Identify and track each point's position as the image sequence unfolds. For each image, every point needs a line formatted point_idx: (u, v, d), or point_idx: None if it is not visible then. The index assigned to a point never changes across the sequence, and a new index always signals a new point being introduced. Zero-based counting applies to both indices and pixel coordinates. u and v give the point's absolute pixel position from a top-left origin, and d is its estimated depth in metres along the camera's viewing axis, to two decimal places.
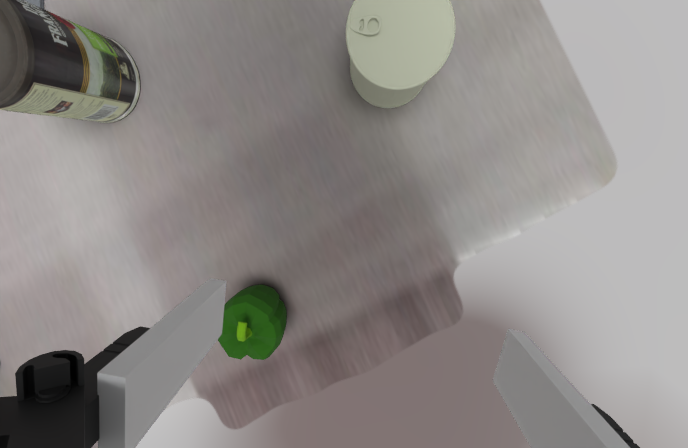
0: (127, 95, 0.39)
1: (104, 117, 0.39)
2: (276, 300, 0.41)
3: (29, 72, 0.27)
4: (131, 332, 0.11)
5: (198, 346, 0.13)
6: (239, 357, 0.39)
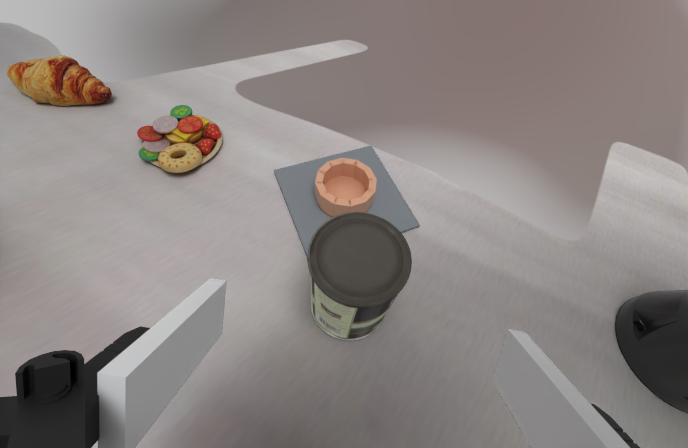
0: (354, 336, 0.40)
1: (325, 325, 0.40)
2: None
3: (367, 306, 0.30)
4: (131, 332, 0.11)
5: (198, 346, 0.13)
6: None
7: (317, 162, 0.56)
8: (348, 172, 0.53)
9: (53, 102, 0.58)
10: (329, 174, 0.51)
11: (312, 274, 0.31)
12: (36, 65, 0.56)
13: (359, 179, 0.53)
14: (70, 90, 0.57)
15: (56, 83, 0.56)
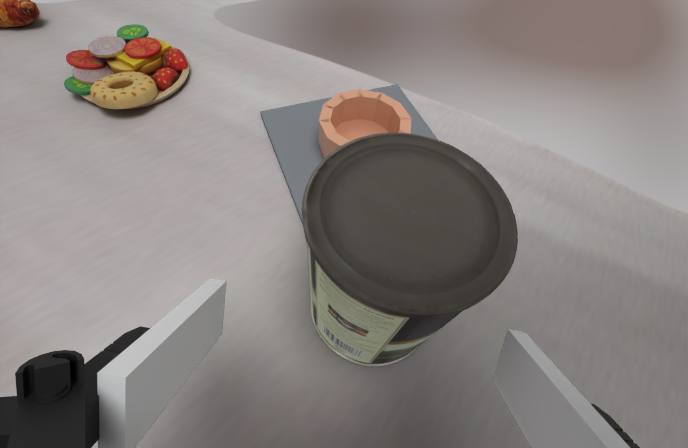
0: (384, 360, 0.23)
1: (333, 342, 0.23)
2: None
3: (435, 315, 0.13)
4: (131, 333, 0.11)
5: (198, 346, 0.13)
6: None
7: (322, 103, 0.39)
8: (367, 112, 0.36)
9: None
10: (340, 113, 0.35)
11: (312, 243, 0.14)
12: None
13: (383, 123, 0.36)
14: None
15: None
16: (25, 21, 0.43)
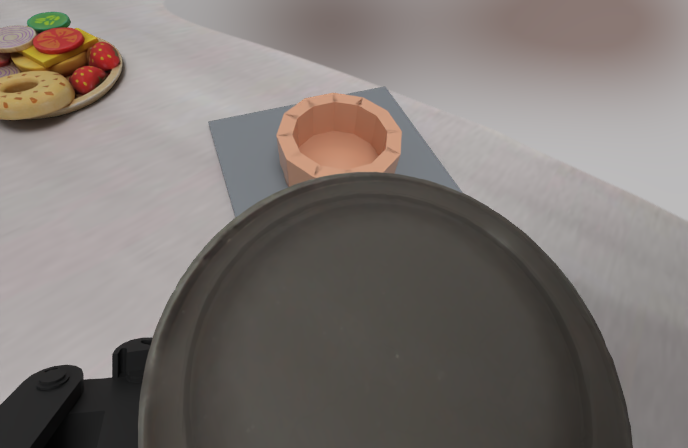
0: None
1: None
2: None
3: None
4: None
5: None
6: None
7: None
8: (345, 123, 0.28)
9: None
10: (308, 125, 0.27)
11: None
12: None
13: (366, 136, 0.28)
14: None
15: None
16: None
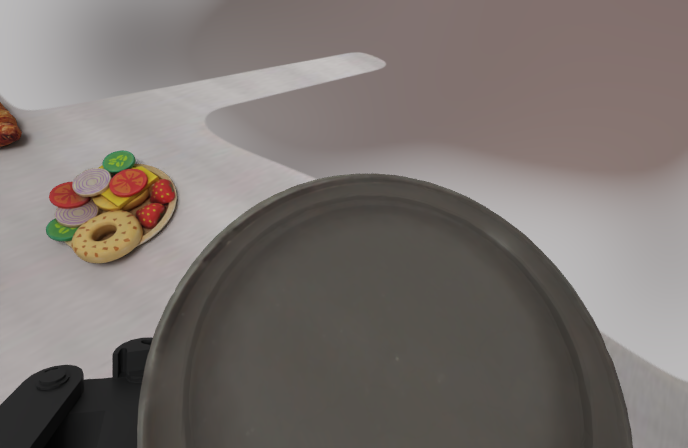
0: None
1: None
2: None
3: None
4: None
5: None
6: None
7: None
8: None
9: None
10: None
11: None
12: None
13: None
14: None
15: None
16: (6, 143, 0.42)
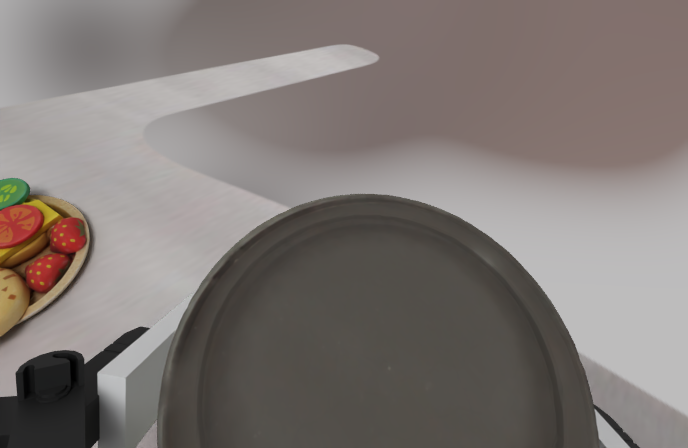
0: None
1: None
2: None
3: None
4: (131, 332, 0.11)
5: None
6: None
7: None
8: None
9: None
10: None
11: None
12: None
13: None
14: None
15: None
16: None
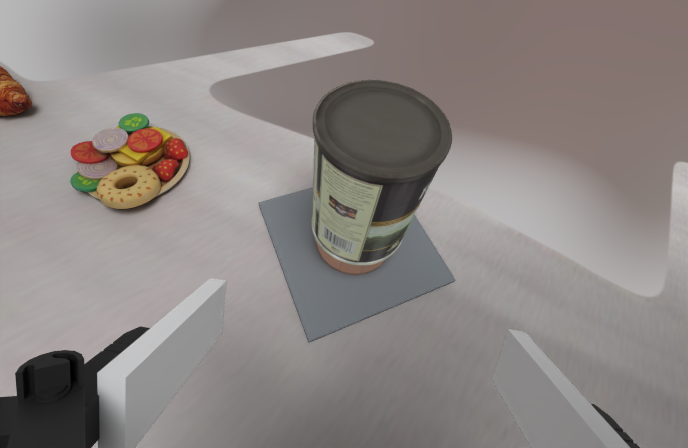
0: (368, 256, 0.32)
1: (331, 243, 0.31)
2: None
3: (397, 180, 0.21)
4: (131, 333, 0.11)
5: (198, 346, 0.13)
6: None
7: None
8: None
9: None
10: None
11: (320, 141, 0.22)
12: None
13: None
14: None
15: None
16: (17, 112, 0.44)
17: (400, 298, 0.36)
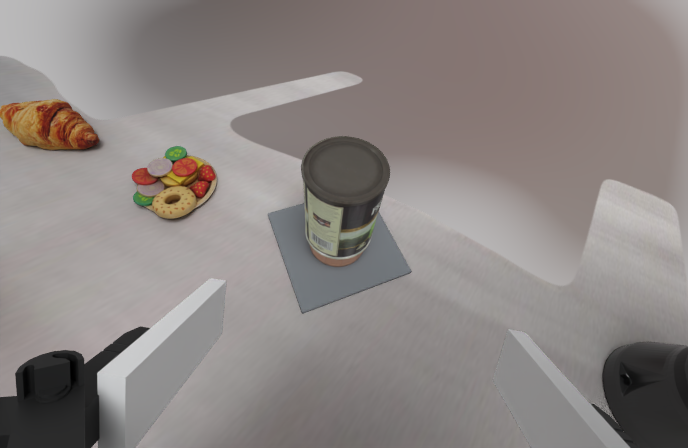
0: (343, 253, 0.45)
1: (317, 243, 0.45)
2: None
3: (351, 204, 0.35)
4: (131, 333, 0.11)
5: (198, 346, 0.13)
6: None
7: None
8: None
9: (40, 146, 0.58)
10: None
11: (305, 180, 0.36)
12: (25, 111, 0.56)
13: None
14: (56, 137, 0.56)
15: (43, 130, 0.56)
16: None
17: (369, 283, 0.50)
